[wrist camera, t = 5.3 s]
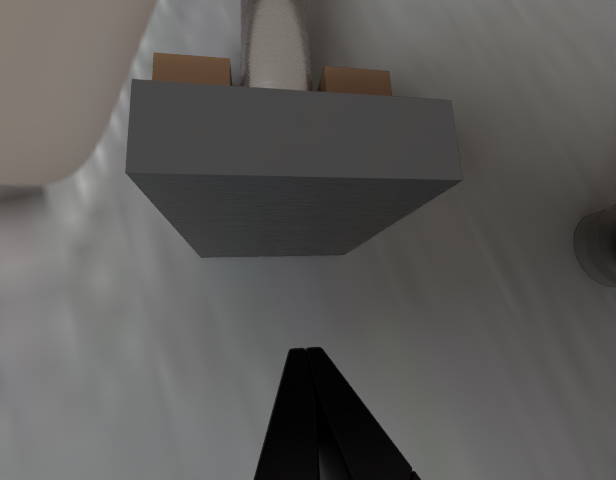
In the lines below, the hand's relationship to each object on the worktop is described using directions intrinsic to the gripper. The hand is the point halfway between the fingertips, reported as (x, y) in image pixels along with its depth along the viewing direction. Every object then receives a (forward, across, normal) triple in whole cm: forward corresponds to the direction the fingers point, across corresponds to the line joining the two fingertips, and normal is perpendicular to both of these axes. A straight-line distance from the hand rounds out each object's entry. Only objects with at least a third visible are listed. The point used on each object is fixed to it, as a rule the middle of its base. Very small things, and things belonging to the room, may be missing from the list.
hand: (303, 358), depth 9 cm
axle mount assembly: (+13, 0, -3) cm, 13 cm away
